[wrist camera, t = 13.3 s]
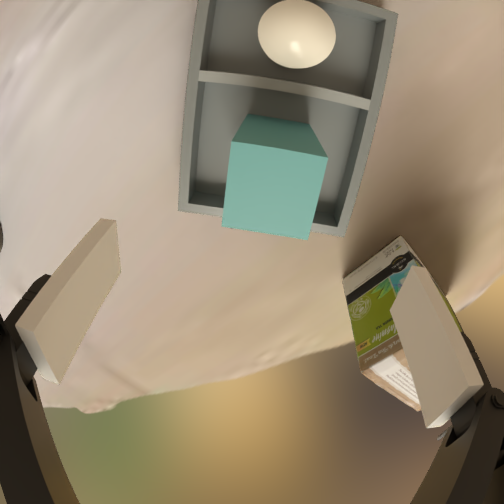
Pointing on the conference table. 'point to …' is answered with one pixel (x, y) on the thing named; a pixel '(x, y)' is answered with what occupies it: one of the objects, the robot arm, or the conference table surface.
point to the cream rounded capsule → (296, 34)
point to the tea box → (383, 318)
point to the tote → (283, 99)
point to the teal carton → (273, 177)
